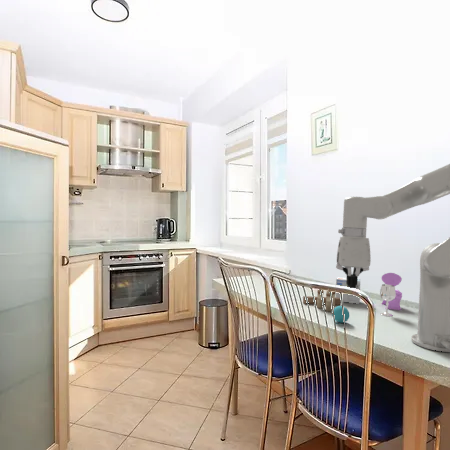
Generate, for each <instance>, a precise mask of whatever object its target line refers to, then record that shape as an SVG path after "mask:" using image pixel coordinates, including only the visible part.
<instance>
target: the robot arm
mask: <svg viewBox="0 0 450 450" xmlns="http://www.w3.org/2000/svg"><path fill="white" fill-rule="evenodd" d="M448 195H450V163H449V164H446V165H444V166H441V167H440V168H436V169H434V170H433V171H430V172H427V173H426V174H423V175H420V176H418V177H417V178H415V179H413V180H411V181H410V182H409V183H407V184H405V185H403V186H402V187H400V188H398V189H395V190H393V191H391V192H389V193H386V194H384V195H379V196H377V195H376V196H369V197H363V196H348V197H345V199H344V201H343V213H342V215H343V216H342V217H343V218H342V219H343V220H342V227H341V229H338V234H341V236H340V237H339V240H338V241H339V242H338V246H337V251H336V265H335V268H336V270H340V271H343V273H344V274H345V275H346V278H347V280H346V284H347V286H348V287H350V288H356V285H357V279H359V278H358V277H359V276H360V275H361V274H362V273H363V272H366V271H369V270H370V266H371V262H372V261H371V260H372V259H371V245H370V239H369V237H367V227H368V219H369V218H370V219H374V220H375V219H376V220H385V219H387V218H390V217H392V216H394V215H397V214H399V213H402V212H405V211H407V210H409V209H412V208H414V207H417V206H421V205H425V204H428V203H431V202H434V201H436V200H438V199H441V198H443V197H445V196H448ZM352 268H353V269H352ZM419 270H420V271H419V295H418V311H417V312H418V315H417V316H418V318H417V333H416V334H413V335H412V336H411V342H413V343H414V344H415V345H417V346H419V347H422V348H423V349H427V350H431V351H435V350H436V352H441V351H442V352H441V353H450V236H449V237H448V238H447V239H445V240H444V241H442V242H441V243H440V242H436V243H431V244H429V245H427V246H426V247H425V248H424V249H423V250H422V251H421V254H420V259H419Z"/></svg>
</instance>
